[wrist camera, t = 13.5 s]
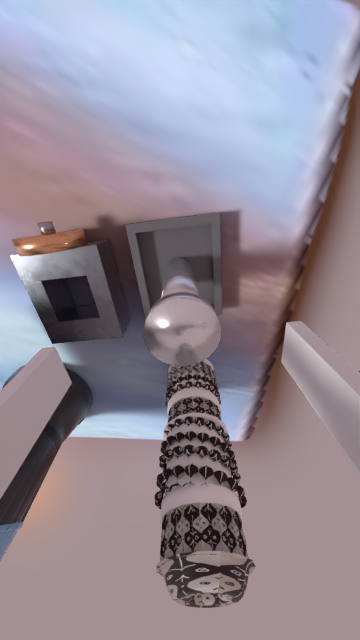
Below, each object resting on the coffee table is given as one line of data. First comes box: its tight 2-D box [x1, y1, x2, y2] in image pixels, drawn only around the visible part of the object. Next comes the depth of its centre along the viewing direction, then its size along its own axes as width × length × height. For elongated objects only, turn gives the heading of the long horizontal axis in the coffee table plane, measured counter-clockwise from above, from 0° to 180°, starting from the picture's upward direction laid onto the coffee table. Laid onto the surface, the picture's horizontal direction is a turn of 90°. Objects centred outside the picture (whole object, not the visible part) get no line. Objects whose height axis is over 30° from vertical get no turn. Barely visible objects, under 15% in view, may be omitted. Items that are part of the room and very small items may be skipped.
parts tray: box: [125, 213, 222, 319], centre depth 28 cm, size 13×11×2 cm
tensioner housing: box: [10, 221, 130, 344], centre depth 26 cm, size 15×10×8 cm
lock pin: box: [144, 257, 221, 366], centre depth 21 cm, size 5×5×16 cm
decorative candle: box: [155, 359, 255, 608], centre depth 27 cm, size 9×9×25 cm
